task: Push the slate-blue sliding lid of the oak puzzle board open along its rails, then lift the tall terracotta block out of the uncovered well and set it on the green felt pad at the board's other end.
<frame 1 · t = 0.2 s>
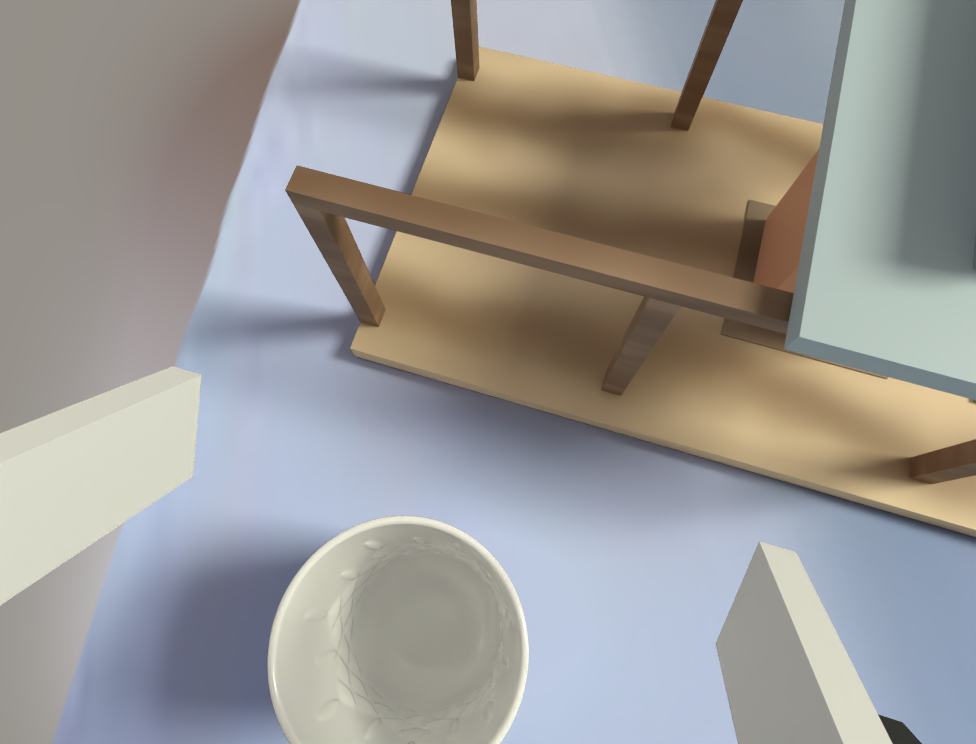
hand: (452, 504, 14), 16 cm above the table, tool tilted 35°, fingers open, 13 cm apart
white cup: (433, 623, 28), on the table
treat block: (815, 284, 31), point 1 cm above the table, touching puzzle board
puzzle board: (755, 283, 33), on the table
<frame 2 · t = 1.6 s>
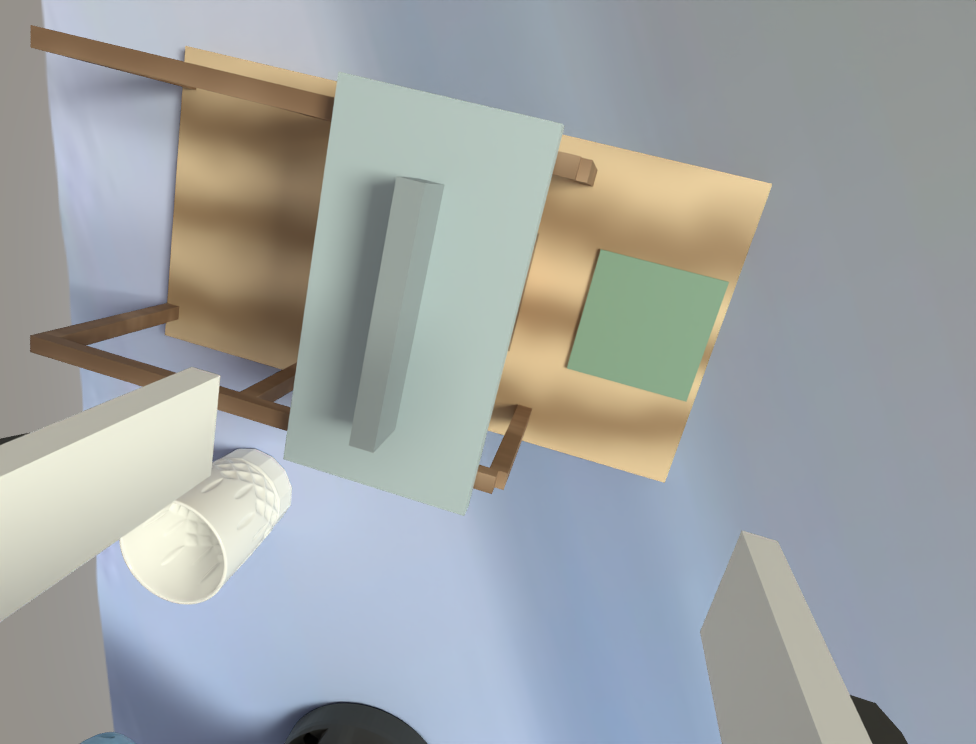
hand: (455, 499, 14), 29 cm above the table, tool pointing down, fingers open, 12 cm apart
white cup: (256, 484, 50), on the table
felt pad: (644, 326, 40), resting on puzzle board
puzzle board: (435, 267, 42), on the table
lid: (399, 315, 28), point 15 cm above the table, slide at 0.0 cm
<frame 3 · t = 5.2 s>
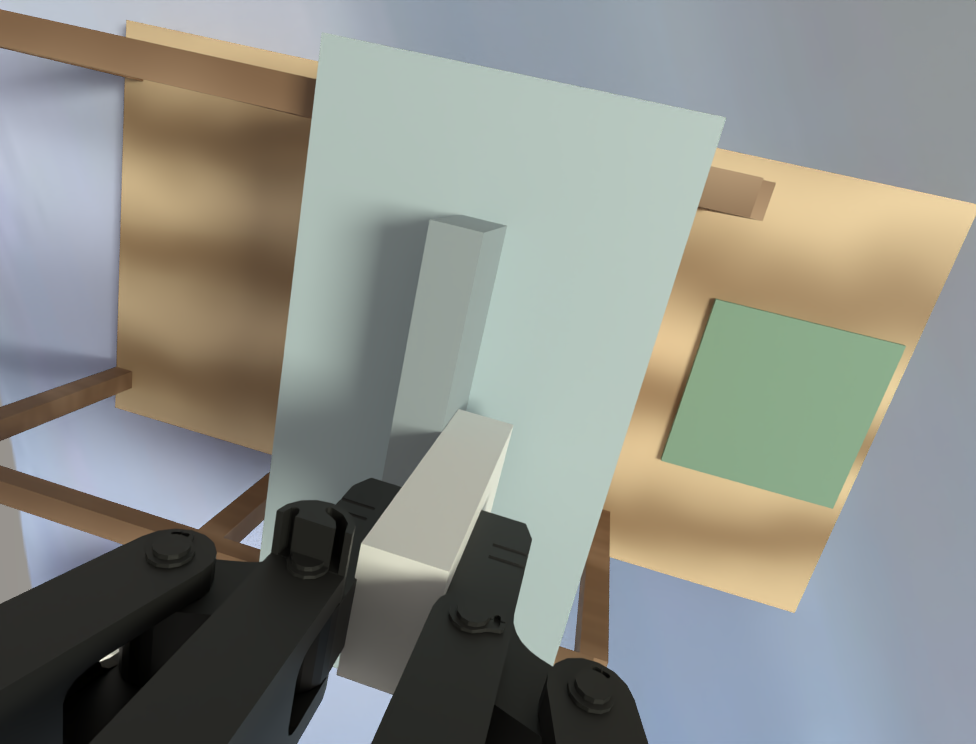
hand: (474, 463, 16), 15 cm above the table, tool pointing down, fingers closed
felt pad: (774, 404, 28), resting on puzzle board
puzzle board: (474, 319, 31), on the table
lid: (430, 443, 17), point 15 cm above the table, slide at 0.5 cm, touching gripper
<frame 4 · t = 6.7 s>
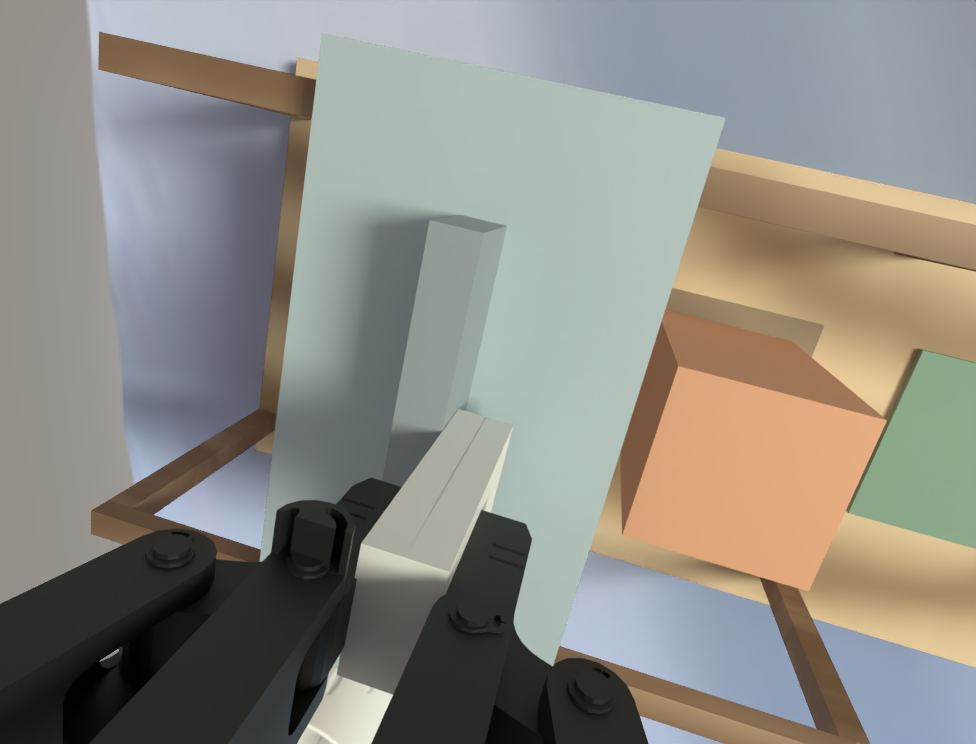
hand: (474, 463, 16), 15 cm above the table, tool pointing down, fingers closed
white cup: (369, 635, 38), on the table
felt pad: (975, 457, 27), resting on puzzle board
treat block: (702, 386, 28), point 1 cm above the table, touching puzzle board
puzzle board: (646, 364, 30), on the table
lid: (430, 443, 17), point 15 cm above the table, slide at 9.2 cm, touching gripper
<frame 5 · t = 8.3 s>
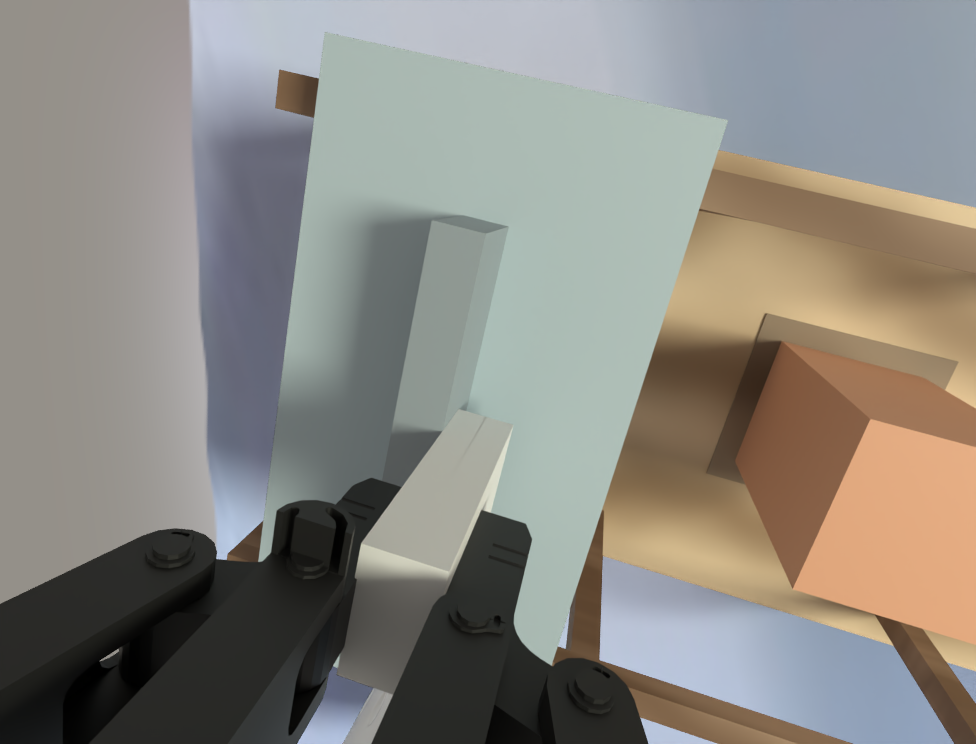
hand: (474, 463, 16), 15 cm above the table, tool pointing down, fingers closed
white cup: (453, 663, 37), on the table
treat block: (824, 421, 28), point 1 cm above the table, touching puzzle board
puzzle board: (762, 397, 29), on the table
lid: (430, 443, 17), point 15 cm above the table, slide at 14.7 cm, touching gripper
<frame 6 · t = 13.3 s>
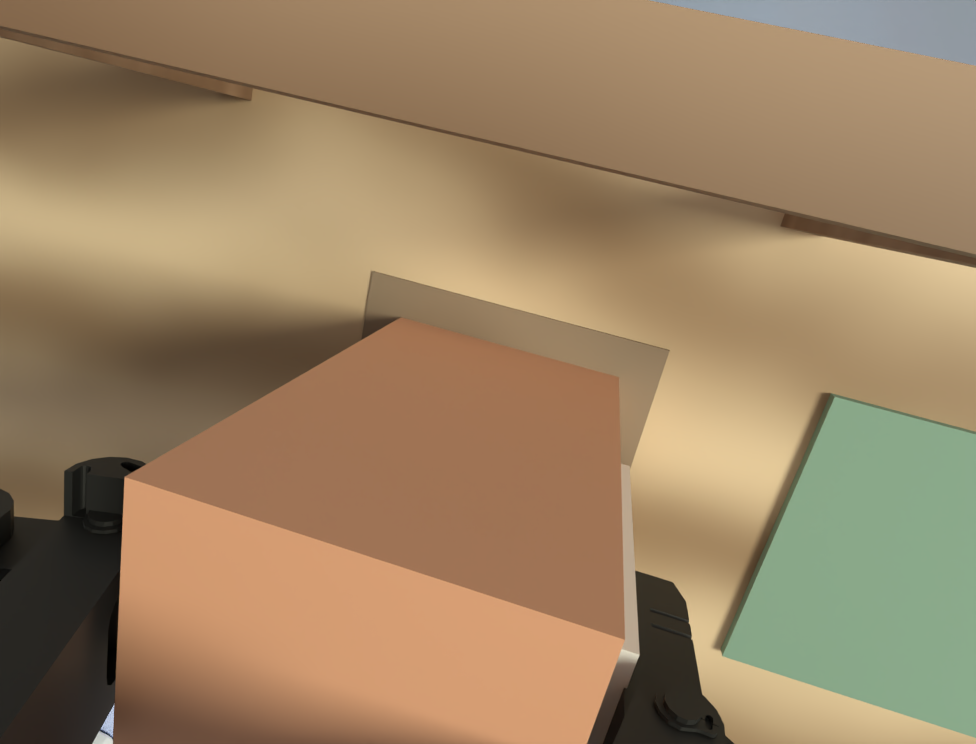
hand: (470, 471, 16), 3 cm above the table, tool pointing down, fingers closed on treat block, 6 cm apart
felt pad: (928, 576, 16), resting on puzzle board
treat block: (482, 447, 17), point 1 cm above the table, touching gripper, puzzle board
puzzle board: (413, 407, 19), on the table
when the fingers open (4 cm above the table, at t = 18.4 s): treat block drops 1 cm, resting on felt pad.
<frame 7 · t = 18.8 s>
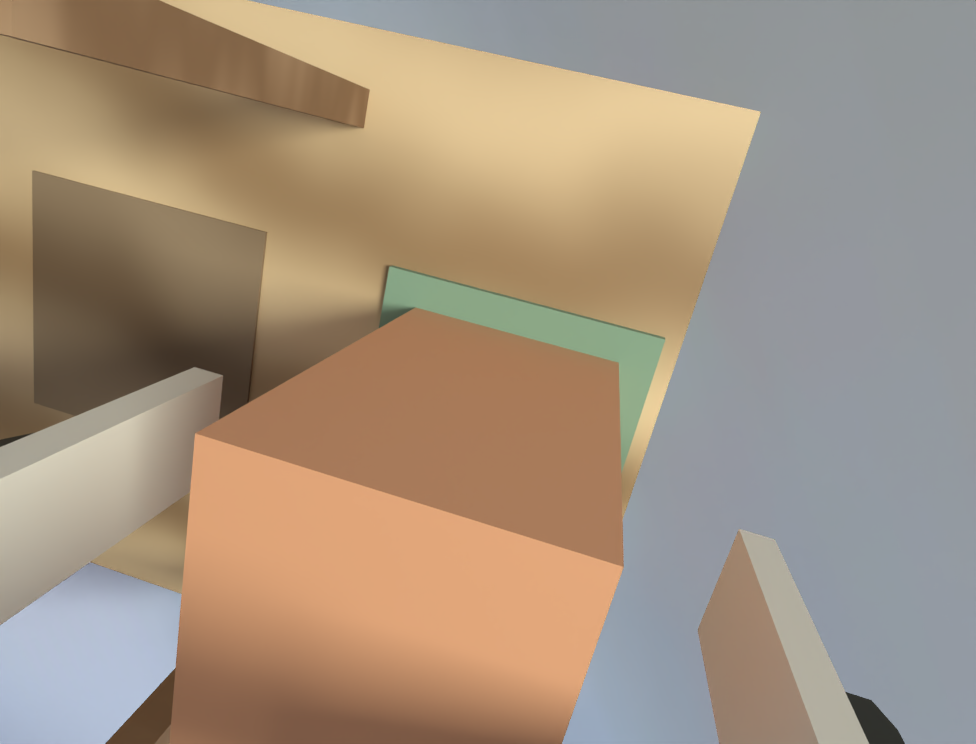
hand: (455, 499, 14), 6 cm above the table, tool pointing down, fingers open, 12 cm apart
felt pad: (493, 426, 19), resting on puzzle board
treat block: (491, 429, 19), point 1 cm above the table, touching felt pad
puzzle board: (103, 298, 22), on the table
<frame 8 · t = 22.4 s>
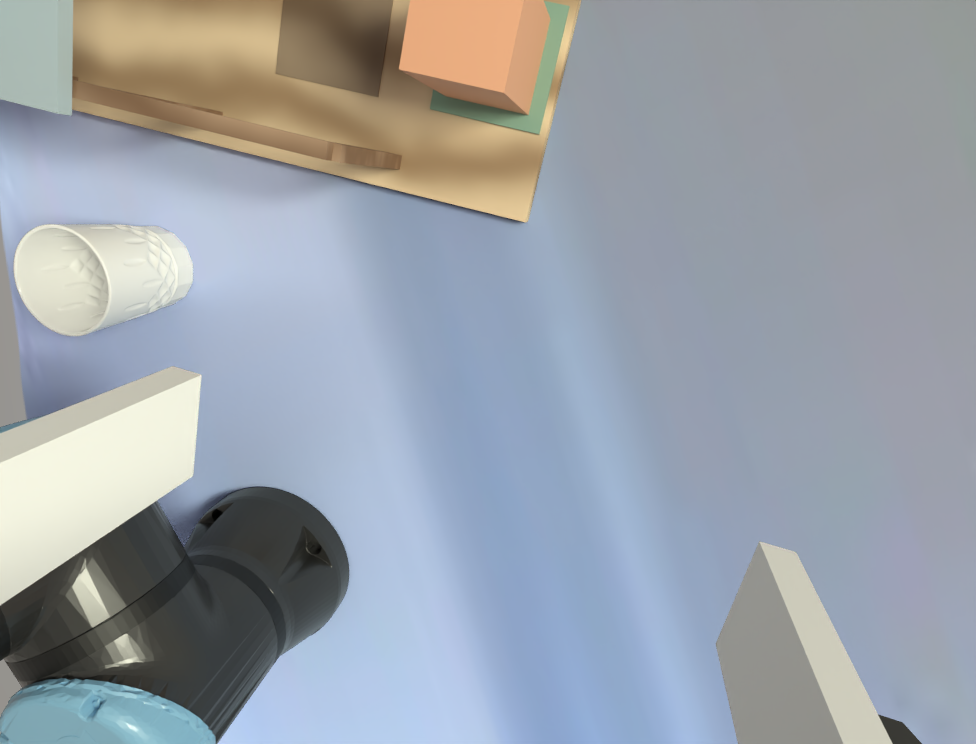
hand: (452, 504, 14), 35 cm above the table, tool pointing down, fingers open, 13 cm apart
white cup: (161, 265, 53), on the table
felt pad: (497, 60, 42), resting on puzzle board
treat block: (496, 58, 42), point 1 cm above the table, touching felt pad
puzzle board: (309, 22, 45), on the table
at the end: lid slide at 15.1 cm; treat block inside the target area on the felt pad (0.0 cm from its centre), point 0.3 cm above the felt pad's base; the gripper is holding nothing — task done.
